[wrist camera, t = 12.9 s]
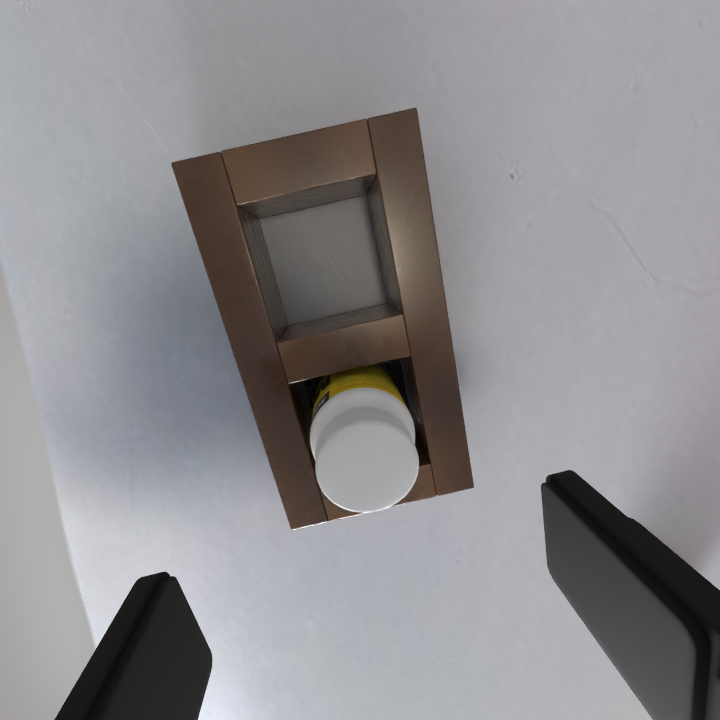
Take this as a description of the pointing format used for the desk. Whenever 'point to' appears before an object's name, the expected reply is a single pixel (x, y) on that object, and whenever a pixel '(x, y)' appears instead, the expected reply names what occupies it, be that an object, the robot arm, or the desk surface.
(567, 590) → the robot arm
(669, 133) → the desk surface
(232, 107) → the desk surface
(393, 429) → the supplement bottle
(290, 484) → the holder
